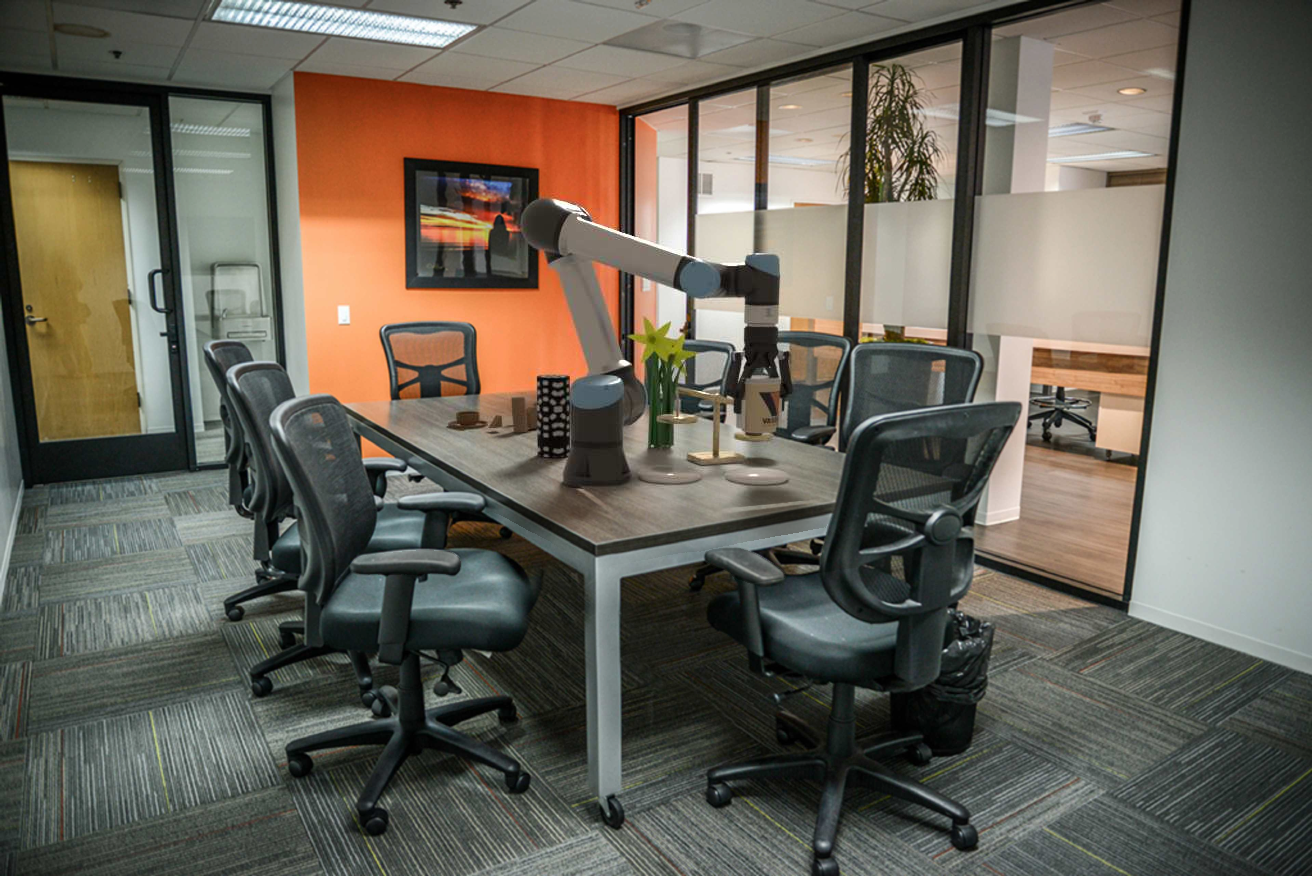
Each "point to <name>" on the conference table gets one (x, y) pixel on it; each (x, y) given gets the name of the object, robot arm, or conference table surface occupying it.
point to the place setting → (467, 421)
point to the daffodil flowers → (661, 378)
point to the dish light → (669, 475)
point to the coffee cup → (761, 403)
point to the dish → (756, 476)
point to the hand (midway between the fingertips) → (758, 427)
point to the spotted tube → (553, 415)
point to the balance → (716, 455)
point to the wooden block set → (519, 416)
